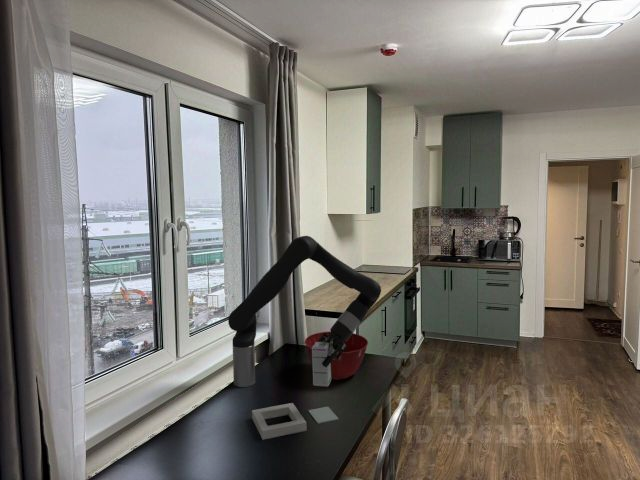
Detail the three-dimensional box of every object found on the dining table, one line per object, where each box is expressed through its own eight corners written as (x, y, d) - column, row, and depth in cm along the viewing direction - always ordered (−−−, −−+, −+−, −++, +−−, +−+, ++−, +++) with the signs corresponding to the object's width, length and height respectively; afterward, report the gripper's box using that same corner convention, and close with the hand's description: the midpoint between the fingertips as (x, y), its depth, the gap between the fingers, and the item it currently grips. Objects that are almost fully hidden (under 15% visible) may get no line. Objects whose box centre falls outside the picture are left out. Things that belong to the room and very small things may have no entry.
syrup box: (328, 386, 161) (327, 347, 159) (312, 385, 162) (311, 346, 161) (331, 380, 167) (330, 342, 165) (315, 379, 168) (315, 341, 166)
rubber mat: (308, 411, 169) (308, 410, 169) (328, 407, 172) (328, 406, 172) (317, 423, 160) (317, 422, 160) (338, 419, 163) (338, 418, 163)
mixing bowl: (378, 369, 208) (378, 337, 207) (348, 393, 184) (348, 356, 183) (326, 357, 223) (326, 327, 222) (292, 378, 200) (292, 344, 198)
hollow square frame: (252, 418, 164) (251, 410, 164) (292, 410, 170) (292, 402, 170) (262, 439, 150) (262, 431, 150) (306, 430, 156) (306, 422, 155)
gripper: (329, 315, 172) (302, 350, 168) (349, 325, 159) (321, 363, 155) (341, 327, 175) (315, 361, 171) (362, 337, 162) (334, 374, 158)
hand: (318, 362), depth 163 cm, fingers closed on syrup box, 8 cm apart
